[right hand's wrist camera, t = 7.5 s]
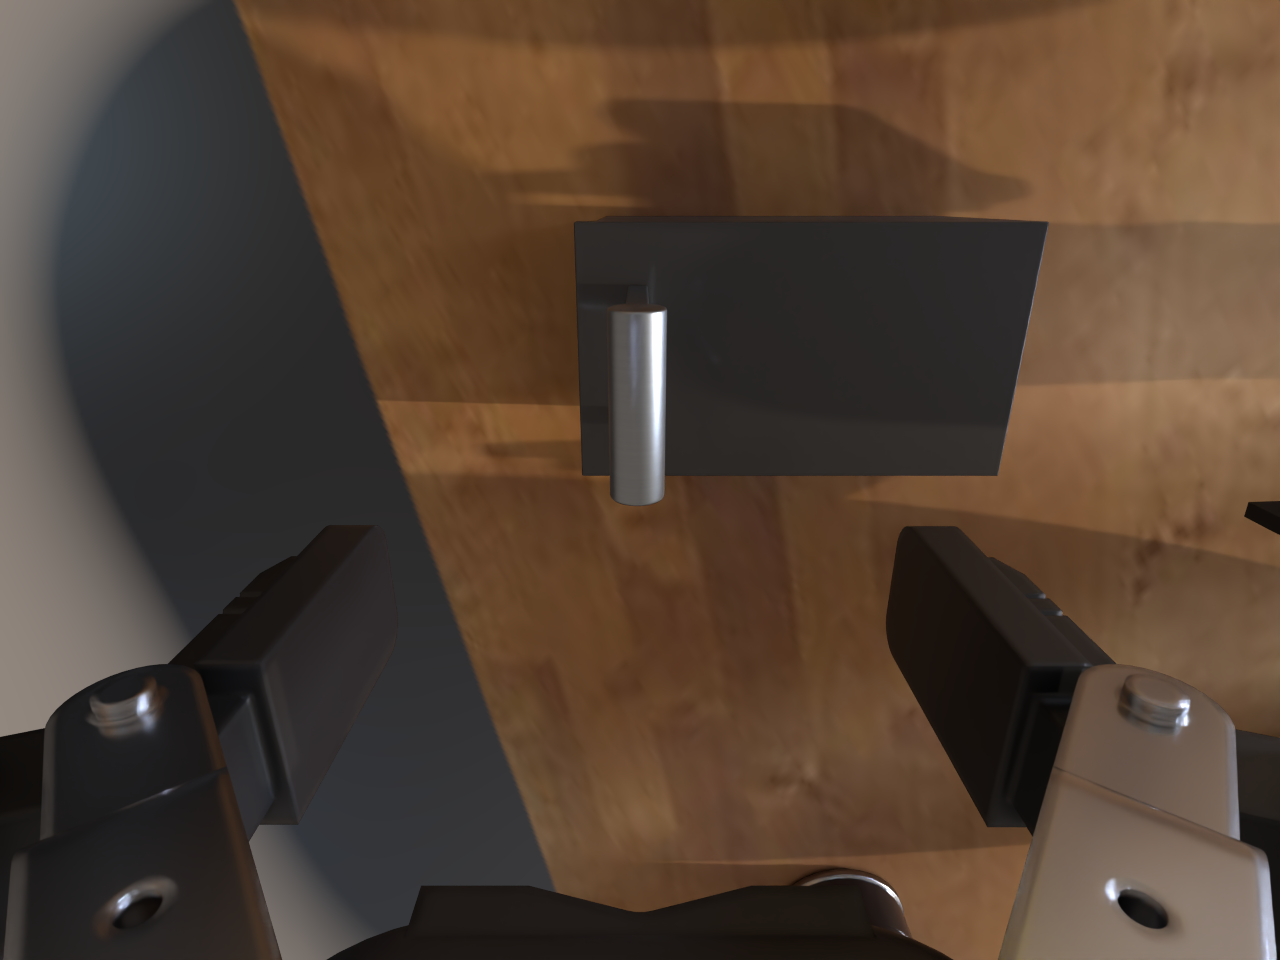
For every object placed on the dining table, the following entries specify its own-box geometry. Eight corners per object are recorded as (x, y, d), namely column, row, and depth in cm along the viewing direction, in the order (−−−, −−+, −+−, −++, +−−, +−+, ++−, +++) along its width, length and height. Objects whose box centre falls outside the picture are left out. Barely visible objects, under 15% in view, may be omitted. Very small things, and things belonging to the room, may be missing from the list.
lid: (583, 468, 29) (562, 567, 21) (576, 221, 26) (547, 230, 18) (988, 468, 29) (1117, 568, 21) (1036, 221, 26) (1213, 230, 18)
